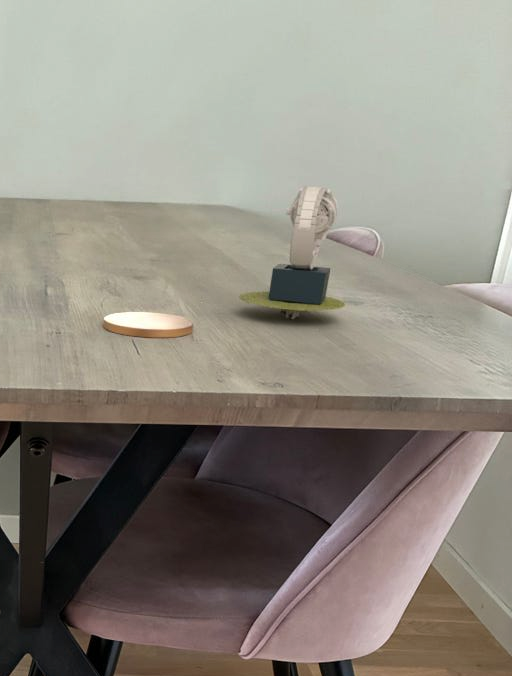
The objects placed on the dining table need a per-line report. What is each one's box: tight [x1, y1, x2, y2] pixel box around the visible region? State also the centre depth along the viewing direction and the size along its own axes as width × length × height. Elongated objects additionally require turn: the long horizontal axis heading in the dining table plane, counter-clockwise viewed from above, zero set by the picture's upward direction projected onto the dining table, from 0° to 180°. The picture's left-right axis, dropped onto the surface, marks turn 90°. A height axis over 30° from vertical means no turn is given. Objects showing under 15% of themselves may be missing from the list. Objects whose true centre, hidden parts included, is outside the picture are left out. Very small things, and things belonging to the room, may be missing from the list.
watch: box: [268, 186, 339, 304], centre depth 101 cm, size 6×8×11 cm
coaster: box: [102, 311, 194, 339], centre depth 96 cm, size 9×9×1 cm
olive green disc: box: [238, 291, 346, 320], centre depth 103 cm, size 11×11×2 cm
